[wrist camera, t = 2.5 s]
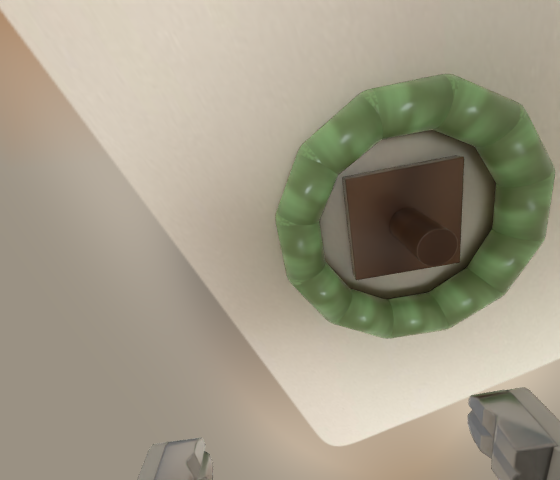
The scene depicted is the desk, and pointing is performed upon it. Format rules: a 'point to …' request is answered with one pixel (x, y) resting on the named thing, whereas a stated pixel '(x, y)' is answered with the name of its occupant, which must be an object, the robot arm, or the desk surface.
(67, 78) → the desk surface
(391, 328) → the ring
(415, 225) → the stand
